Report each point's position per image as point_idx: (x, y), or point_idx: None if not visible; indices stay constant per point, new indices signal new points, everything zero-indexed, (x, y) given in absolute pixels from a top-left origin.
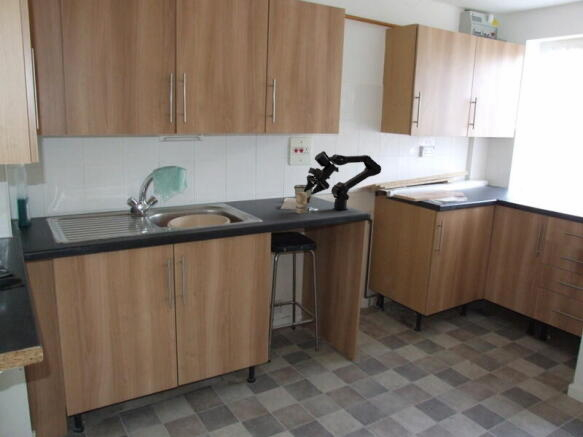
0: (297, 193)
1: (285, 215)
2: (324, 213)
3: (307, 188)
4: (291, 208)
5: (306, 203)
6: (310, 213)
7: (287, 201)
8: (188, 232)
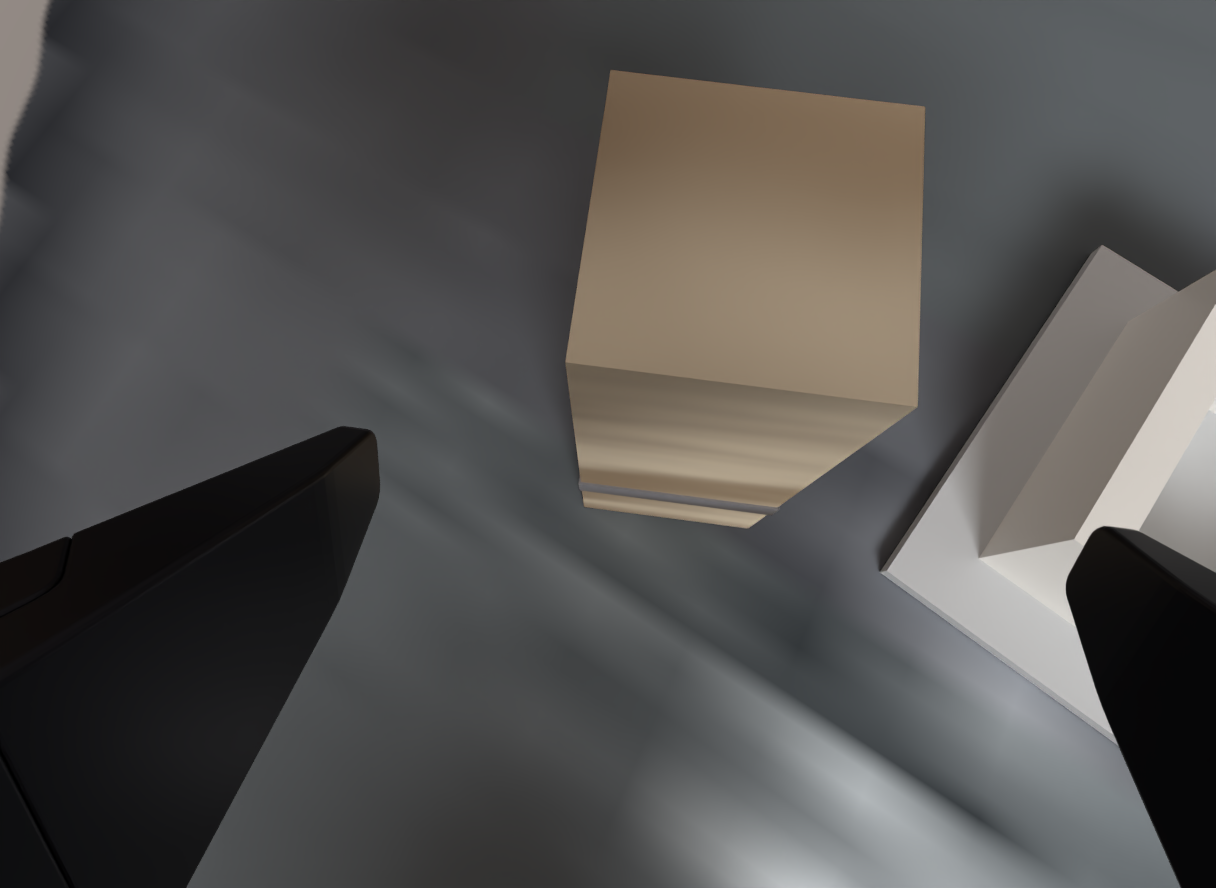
0: (780, 105)
1: (572, 87)
2: (362, 846)
3: (1211, 743)
4: (1012, 417)
5: (579, 458)
6: (508, 557)
7: (1198, 319)
8: None
